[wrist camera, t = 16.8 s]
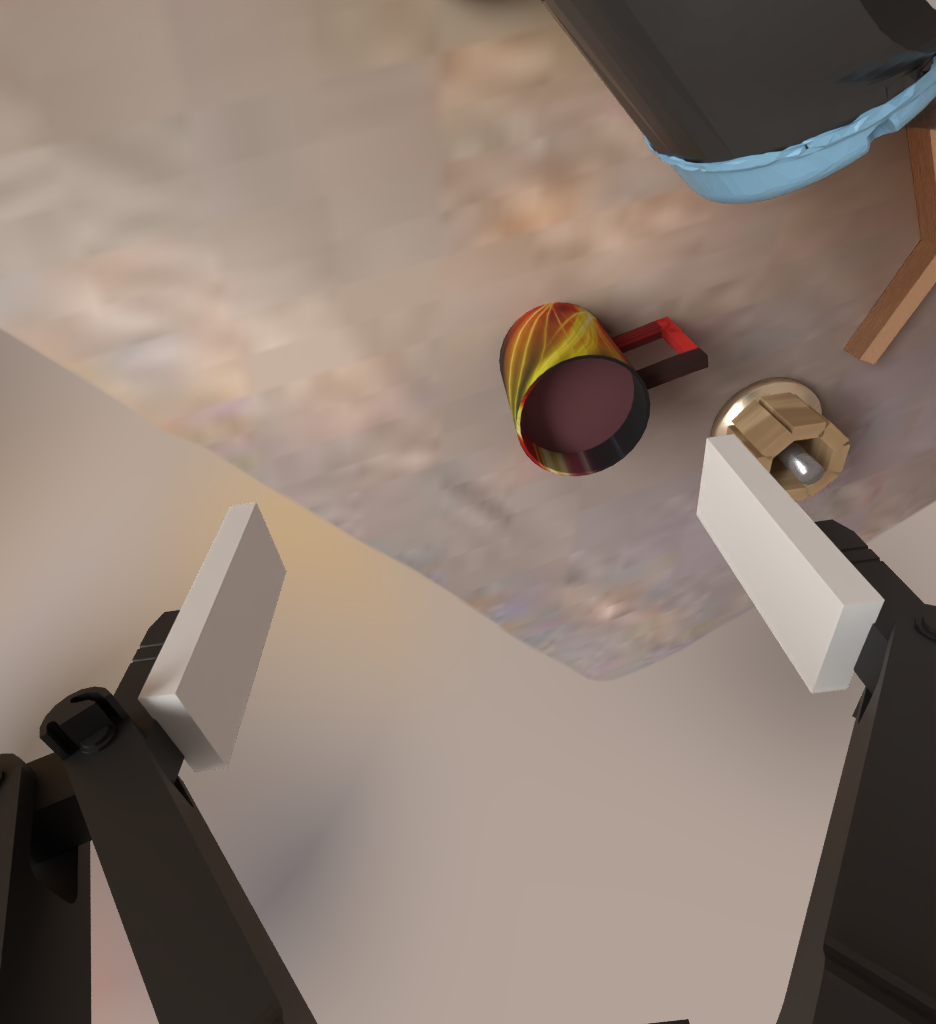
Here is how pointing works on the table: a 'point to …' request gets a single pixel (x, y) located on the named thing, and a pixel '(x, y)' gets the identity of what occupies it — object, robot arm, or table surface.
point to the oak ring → (790, 439)
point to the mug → (584, 386)
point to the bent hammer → (930, 262)
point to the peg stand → (793, 453)
